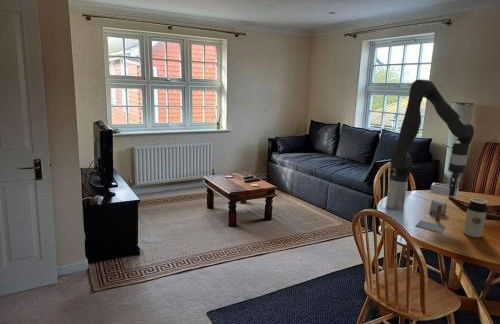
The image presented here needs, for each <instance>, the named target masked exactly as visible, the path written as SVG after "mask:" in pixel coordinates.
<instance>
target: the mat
mask: <svg viewBox="0 0 500 324" xmlns="http://www.w3.org/2000/svg"><path fill="white" fill-rule="evenodd" d="M415 227H416V228H421V229H424V230H428V231H432V232H437V233H440V234H441V233H442V232H443V230H444V229H445V228H446V226H445V225H443V224H442V225H441V224H438V223H434V222H429V221H426V220H422V219H421V220H419V222H417V224H415Z"/></svg>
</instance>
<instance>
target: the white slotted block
mask: <svg viewBox="0 0 500 324" xmlns="http://www.w3.org/2000/svg"><path fill="white" fill-rule="evenodd" d="M449 186H450V184H445V183H438V182H432V183H431V185H430V192H429V193H430V194H433V195H440V196H444V197H450V198H454V199H456V198H457V197H458V195H459V191H460V190H459V188H460V186H457V187H456V189H455V193H454V196H449V192H450V188H449Z"/></svg>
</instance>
